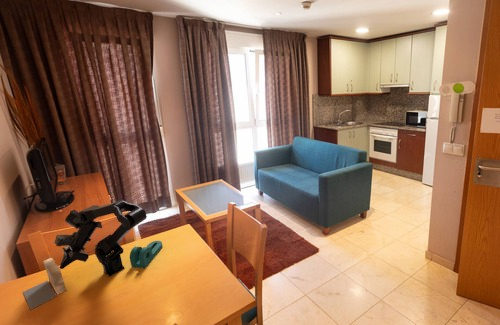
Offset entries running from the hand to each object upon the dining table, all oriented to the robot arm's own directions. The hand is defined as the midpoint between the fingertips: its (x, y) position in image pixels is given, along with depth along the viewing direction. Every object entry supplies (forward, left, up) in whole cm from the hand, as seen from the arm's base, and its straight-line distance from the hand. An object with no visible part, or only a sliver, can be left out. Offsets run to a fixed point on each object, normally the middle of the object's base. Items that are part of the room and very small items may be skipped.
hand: (60, 268), depth 106 cm
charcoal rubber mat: (+8, 0, -6) cm, 11 cm away
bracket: (-31, +12, -7) cm, 34 cm away
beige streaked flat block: (+2, 0, -7) cm, 7 cm away
